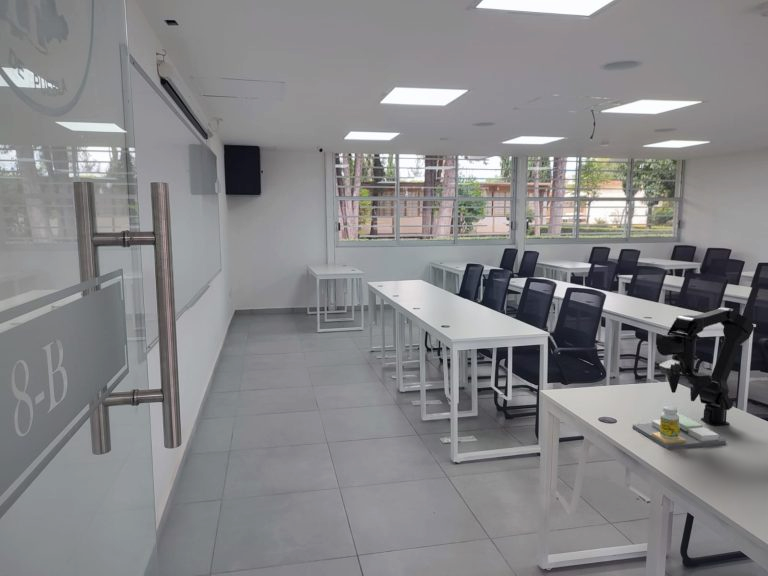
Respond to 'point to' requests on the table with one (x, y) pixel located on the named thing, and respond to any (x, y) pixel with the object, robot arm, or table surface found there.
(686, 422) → the green key
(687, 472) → the table surface
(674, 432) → the supplement bottle
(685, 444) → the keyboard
